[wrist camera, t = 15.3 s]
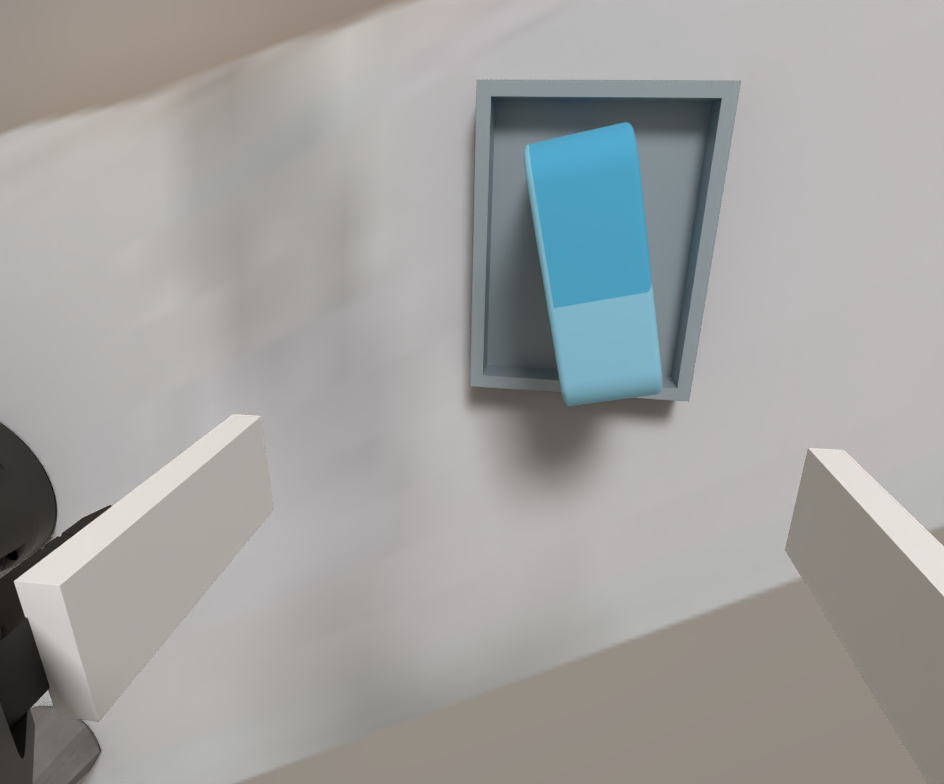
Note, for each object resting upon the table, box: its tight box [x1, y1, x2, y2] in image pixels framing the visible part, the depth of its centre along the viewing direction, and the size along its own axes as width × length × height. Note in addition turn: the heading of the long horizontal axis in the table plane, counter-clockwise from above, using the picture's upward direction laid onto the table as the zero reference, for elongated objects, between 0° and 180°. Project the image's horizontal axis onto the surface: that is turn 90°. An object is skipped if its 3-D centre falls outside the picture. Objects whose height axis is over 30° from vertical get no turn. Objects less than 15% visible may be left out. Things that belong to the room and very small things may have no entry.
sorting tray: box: [470, 80, 741, 402], centre depth 36 cm, size 14×18×3 cm
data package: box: [523, 122, 662, 406], centre depth 31 cm, size 12×4×12 cm, turn 12°
